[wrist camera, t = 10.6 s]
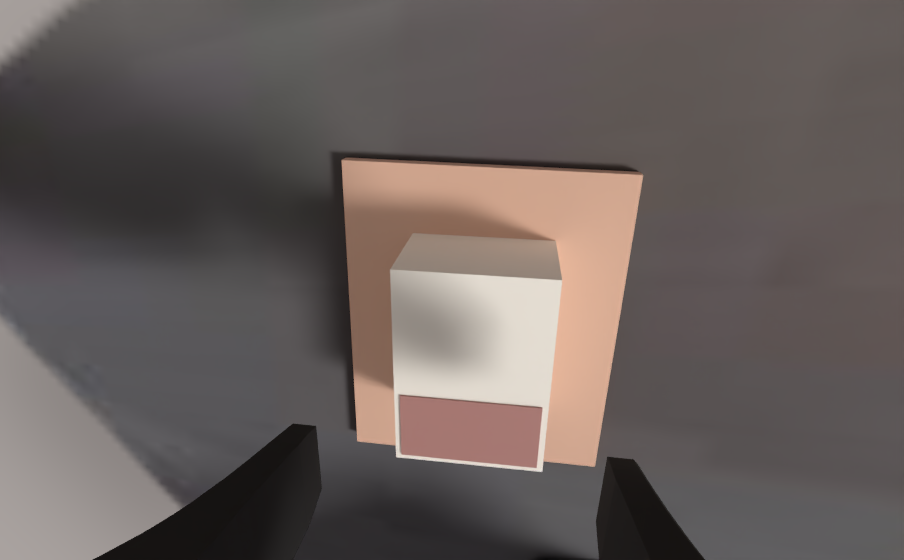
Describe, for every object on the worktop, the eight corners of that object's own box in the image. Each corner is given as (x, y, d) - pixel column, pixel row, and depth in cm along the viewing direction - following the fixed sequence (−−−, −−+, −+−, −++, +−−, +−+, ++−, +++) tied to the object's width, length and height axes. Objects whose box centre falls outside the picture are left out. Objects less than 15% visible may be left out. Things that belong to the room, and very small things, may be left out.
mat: (593, 458, 22) (594, 466, 22) (360, 433, 23) (357, 441, 23) (639, 171, 18) (643, 174, 17) (345, 157, 19) (341, 160, 18)
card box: (555, 240, 18) (562, 281, 15) (539, 408, 21) (542, 473, 18) (413, 232, 19) (389, 270, 16) (415, 397, 22) (395, 458, 18)
